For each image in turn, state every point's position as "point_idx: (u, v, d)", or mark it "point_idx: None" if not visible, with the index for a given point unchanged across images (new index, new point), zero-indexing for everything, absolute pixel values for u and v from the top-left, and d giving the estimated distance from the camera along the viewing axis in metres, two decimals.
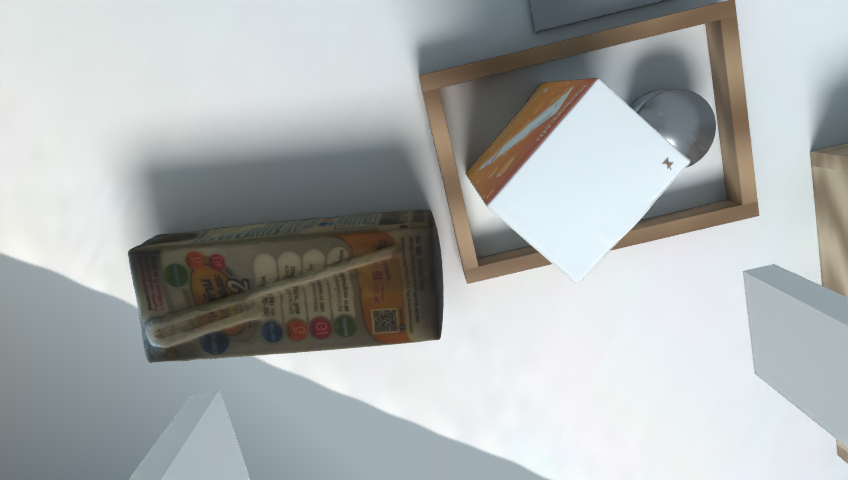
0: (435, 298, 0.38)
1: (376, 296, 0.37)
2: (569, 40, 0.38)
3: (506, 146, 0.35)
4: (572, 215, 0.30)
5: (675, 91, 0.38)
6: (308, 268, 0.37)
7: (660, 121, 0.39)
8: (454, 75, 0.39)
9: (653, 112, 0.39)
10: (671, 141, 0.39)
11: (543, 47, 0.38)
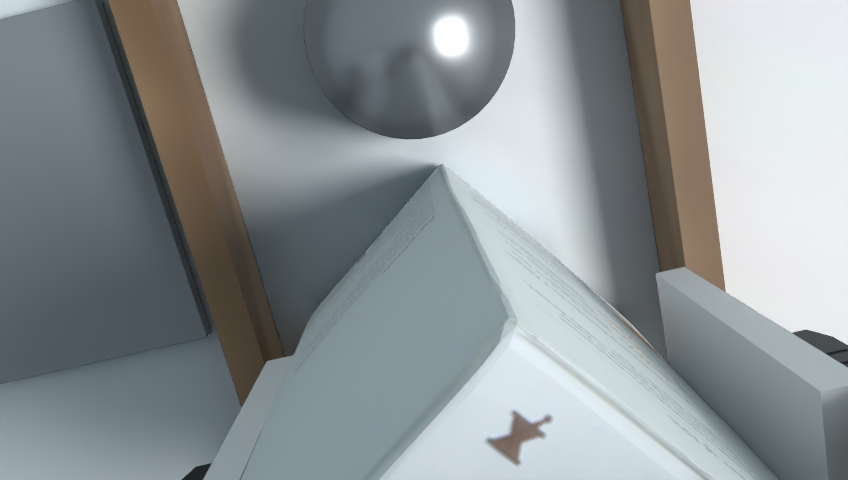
0: None
1: None
2: (208, 297, 0.17)
3: None
4: None
5: (308, 43, 0.15)
6: None
7: (384, 77, 0.15)
8: None
9: (363, 99, 0.15)
10: (438, 44, 0.15)
11: (228, 352, 0.17)
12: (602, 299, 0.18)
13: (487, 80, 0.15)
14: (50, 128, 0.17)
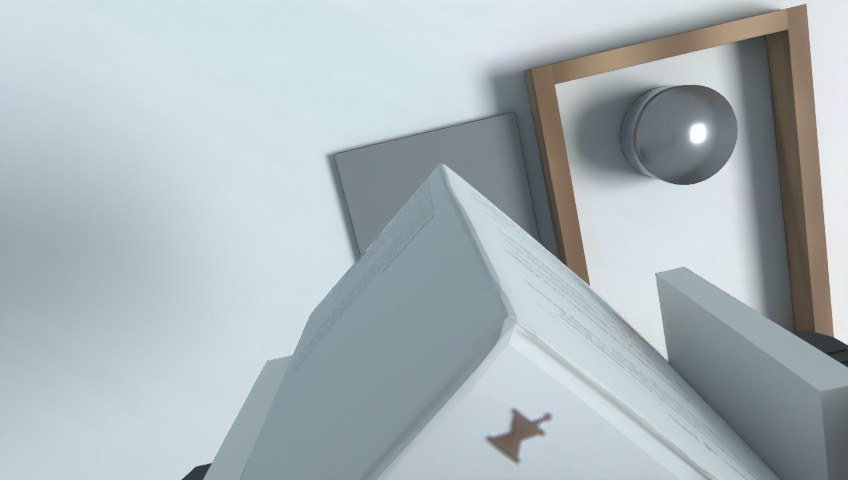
0: None
1: None
2: (568, 262, 0.33)
3: None
4: None
5: (641, 140, 0.31)
6: None
7: (674, 156, 0.31)
8: None
9: (663, 166, 0.32)
10: (701, 141, 0.31)
11: None
12: (602, 298, 0.18)
13: (722, 157, 0.31)
14: (483, 176, 0.34)
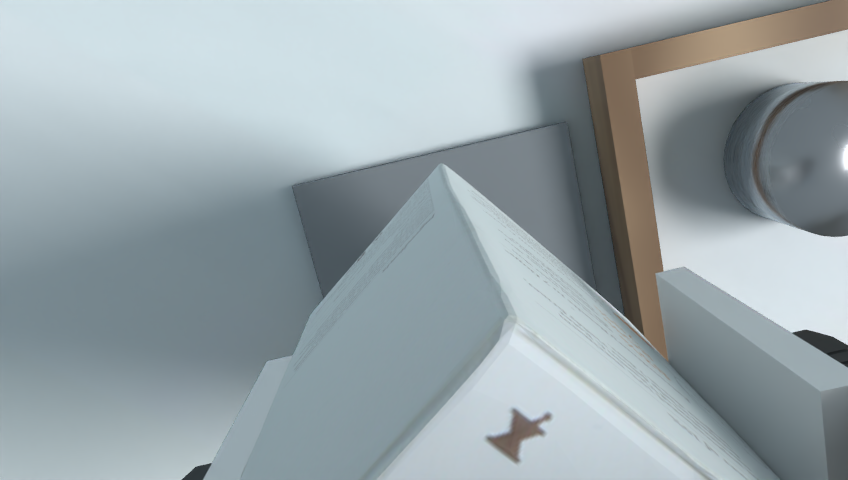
0: None
1: None
2: None
3: None
4: None
5: (773, 168, 0.20)
6: None
7: (823, 192, 0.20)
8: None
9: (805, 207, 0.20)
10: None
11: None
12: (602, 298, 0.18)
13: None
14: (518, 219, 0.22)
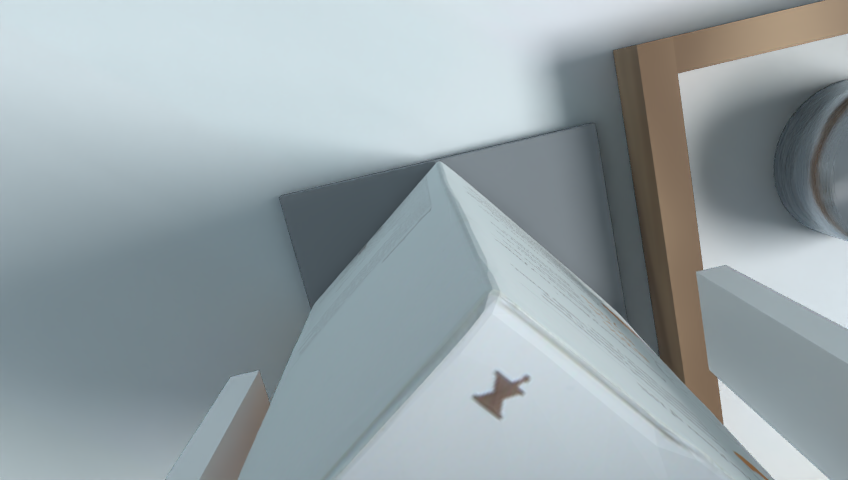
0: None
1: None
2: (688, 386, 0.19)
3: None
4: None
5: (838, 177, 0.17)
6: None
7: None
8: None
9: None
10: None
11: None
12: (592, 291, 0.19)
13: None
14: (538, 234, 0.20)
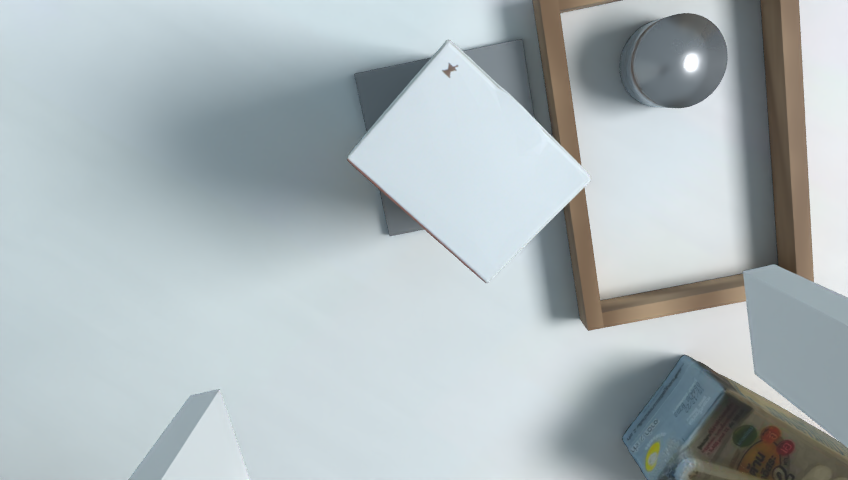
0: None
1: None
2: None
3: None
4: (505, 187, 0.25)
5: (637, 64, 0.34)
6: None
7: (668, 80, 0.34)
8: (591, 297, 0.38)
9: (657, 89, 0.34)
10: (693, 67, 0.34)
11: (571, 207, 0.37)
12: None
13: (712, 83, 0.34)
14: None
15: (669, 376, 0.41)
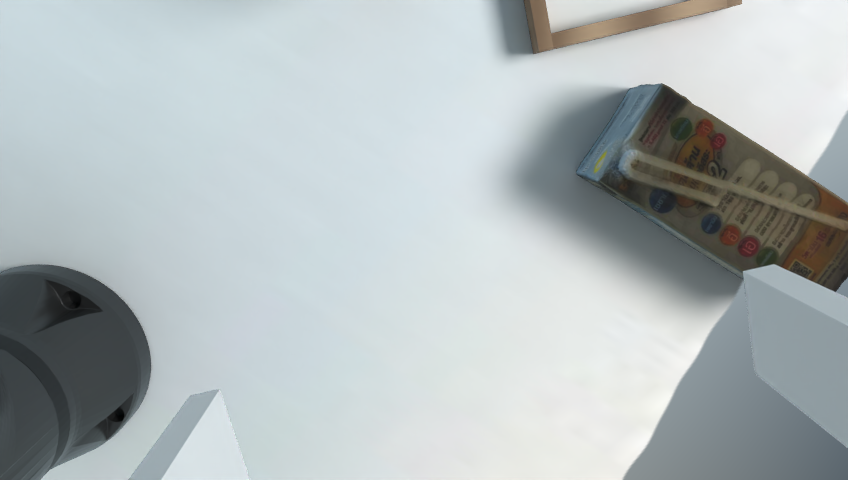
0: (840, 283, 0.42)
1: (808, 251, 0.41)
2: None
3: None
4: None
5: None
6: (777, 195, 0.41)
7: None
8: (540, 17, 0.42)
9: None
10: None
11: None
12: None
13: None
14: None
15: (618, 109, 0.45)
